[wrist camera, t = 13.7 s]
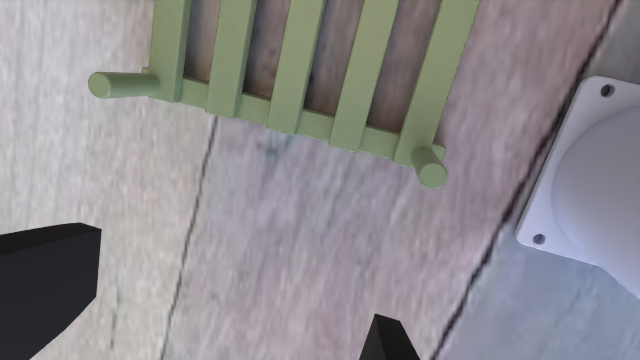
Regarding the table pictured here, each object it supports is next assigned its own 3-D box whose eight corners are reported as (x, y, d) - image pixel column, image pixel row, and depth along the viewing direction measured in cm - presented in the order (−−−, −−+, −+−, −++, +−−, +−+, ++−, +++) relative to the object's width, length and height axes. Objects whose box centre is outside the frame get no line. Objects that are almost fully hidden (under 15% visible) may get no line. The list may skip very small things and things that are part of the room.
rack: (517, -70, 15) (582, -141, 10) (435, 167, 18) (455, 199, 13) (174, -141, 16) (87, -233, 11) (151, 91, 19) (74, 94, 14)
